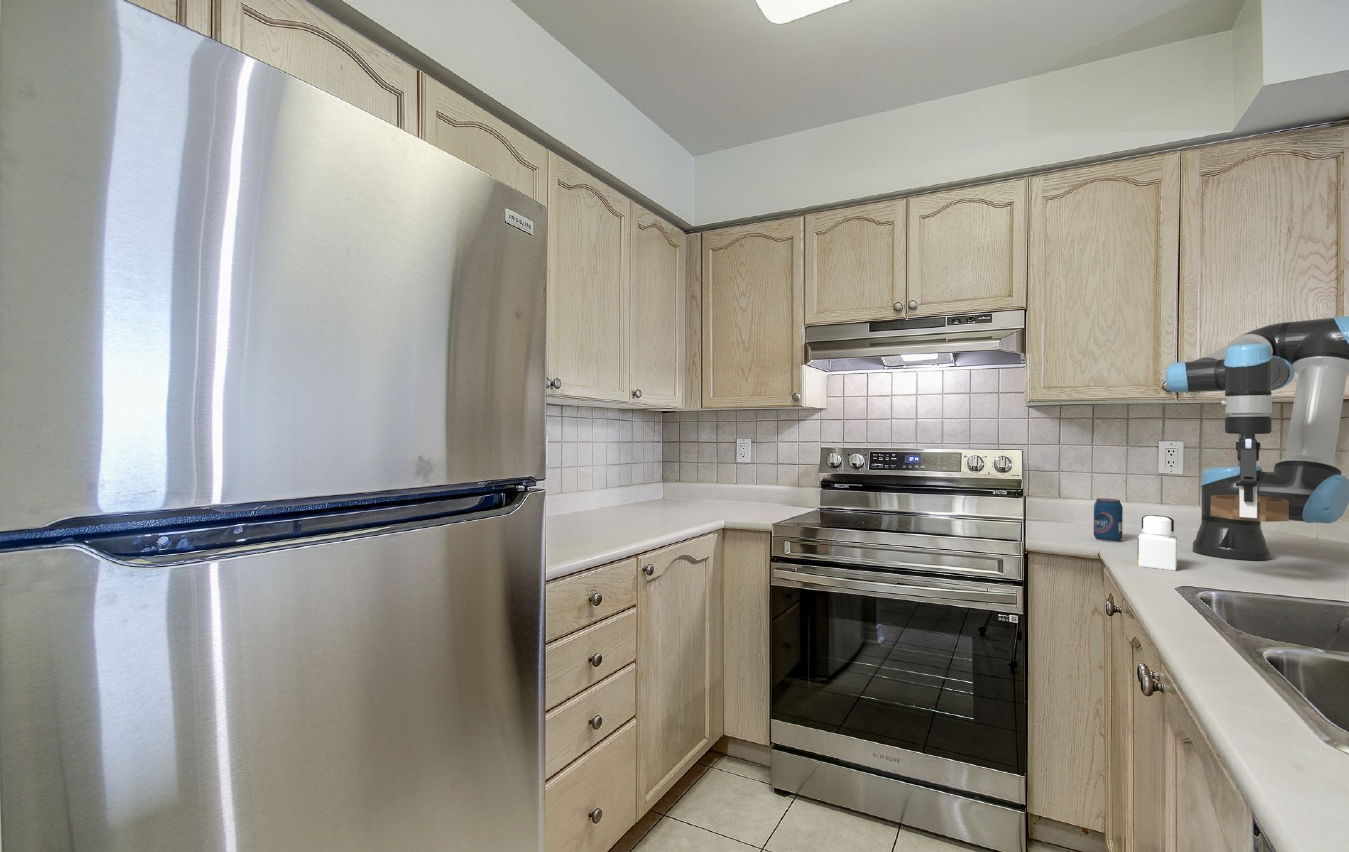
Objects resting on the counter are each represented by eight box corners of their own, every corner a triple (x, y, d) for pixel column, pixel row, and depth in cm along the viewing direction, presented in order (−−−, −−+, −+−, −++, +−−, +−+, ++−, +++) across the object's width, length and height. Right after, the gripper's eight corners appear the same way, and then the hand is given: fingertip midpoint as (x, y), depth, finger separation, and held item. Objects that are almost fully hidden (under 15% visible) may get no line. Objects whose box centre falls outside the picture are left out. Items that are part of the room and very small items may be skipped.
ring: (1247, 511, 143) (1247, 494, 143) (1305, 520, 131) (1305, 501, 131) (1196, 513, 143) (1196, 495, 143) (1249, 522, 130) (1249, 502, 130)
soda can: (1088, 539, 185) (1089, 498, 185) (1101, 537, 188) (1101, 497, 189) (1114, 543, 179) (1114, 501, 179) (1127, 541, 182) (1127, 500, 182)
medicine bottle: (1139, 562, 153) (1139, 512, 153) (1176, 566, 149) (1177, 515, 149) (1137, 566, 148) (1137, 515, 148) (1176, 571, 143) (1176, 518, 143)
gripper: (1225, 416, 148) (1225, 506, 149) (1224, 415, 130) (1224, 518, 130) (1269, 415, 143) (1269, 509, 143) (1274, 415, 125) (1274, 522, 125)
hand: (1247, 513), depth 137 cm, fingers closed on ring, 12 cm apart
